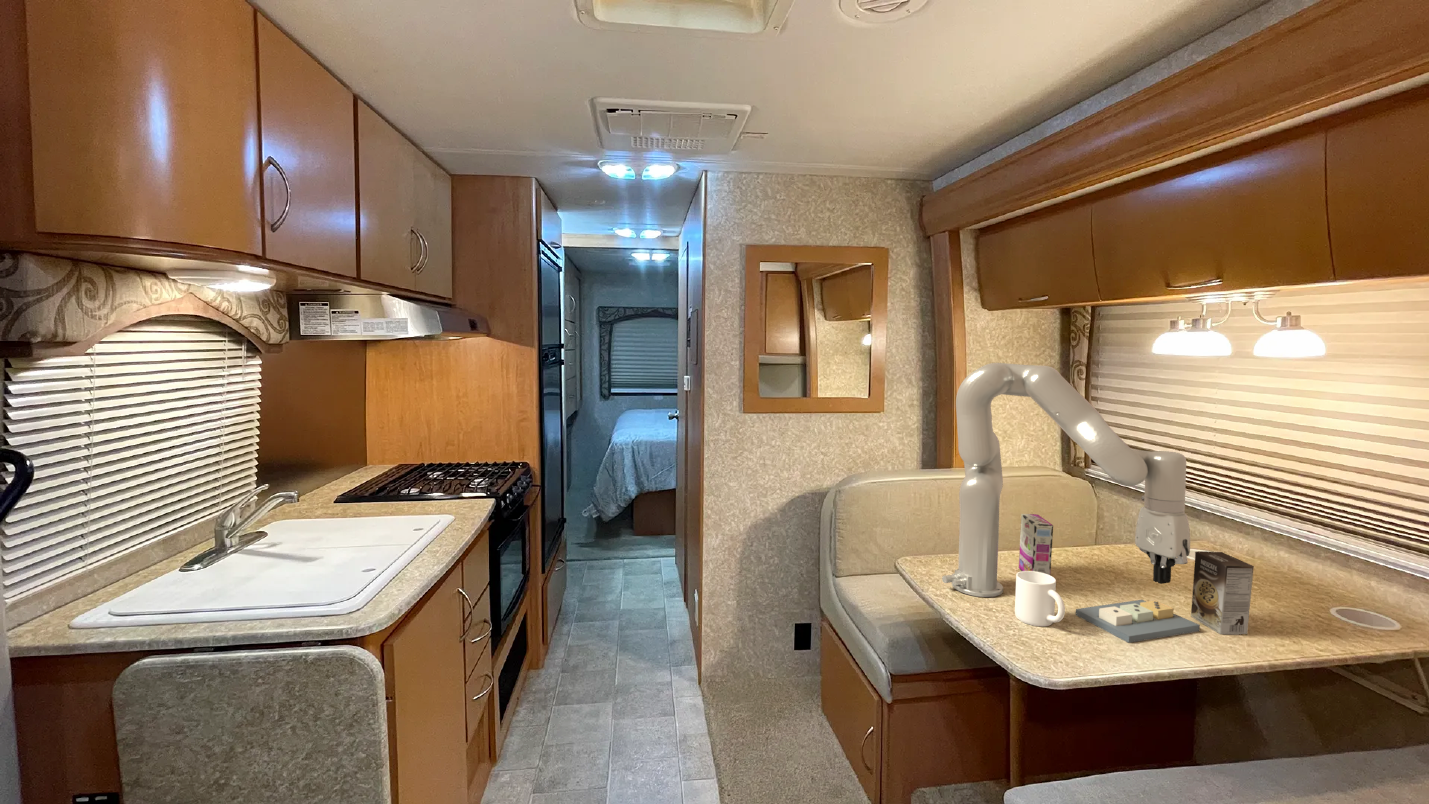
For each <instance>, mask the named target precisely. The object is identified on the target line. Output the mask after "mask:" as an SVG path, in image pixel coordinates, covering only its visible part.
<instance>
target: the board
mask: <svg viewBox="0 0 1429 804" xmlns="http://www.w3.org/2000/svg"><path fill="white" fill-rule="evenodd" d="M1141 602H1147V601H1146V600H1143V599H1137V600H1131V601H1122V602H1116V603H1109V604H1102V605H1096V606H1087V607H1081V608H1075V616H1076V617H1079V618H1081V620H1085V621H1086V622H1088V623H1091V624H1092V625H1094V626H1096V627H1098V628H1100V629H1101V630H1104V631H1105V632H1107V633H1108V634H1111V635H1113V636H1115V637H1116V638H1119V639H1121V640H1122V641H1124V642H1126V643H1129V644H1130V643H1137V642H1141V641H1142V642H1143V641H1149V640H1153V639H1160V638H1167V637H1172V636H1177V635H1180V636H1181V635H1184V634H1192V633H1197V632H1198V633H1199V632H1200V628H1201V627H1200V626H1201V624H1198V623H1197V622H1194V621H1191V620H1190V619H1187V618H1185V617H1183V616H1180V615H1178V614H1177V613H1174V612H1173V618H1166V619H1160V620H1158V619H1155V618H1153V621H1147V622H1140V623H1136V622H1134V621H1132V624H1127V625H1121V626H1115V625H1113V624H1111V623H1109V622H1107V621H1105V620H1103V619H1101V618H1099V609H1100V608H1107V607H1114V606H1115V607H1117V608H1120V605H1127V604H1134V603H1136V604H1138V605H1140V603H1141Z"/></svg>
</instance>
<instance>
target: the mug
mask: <svg viewBox="0 0 1429 804" xmlns="http://www.w3.org/2000/svg"><path fill="white" fill-rule="evenodd" d="M1015 577H1016V578H1015V599H1014V600H1015V601H1014V615H1015V617H1016V618H1017V619H1018V620H1019V621H1020V622H1022V623H1024V624H1026V625H1029V626H1033V627H1048V626H1051V625H1053V623H1059V622H1061V621H1062V620H1063V619H1064V617H1065V614H1066V613H1065V612H1066V607H1065V602H1064V600H1063V598H1062V596H1061V595H1060V594H1059V593H1058V592H1057V591H1056V586H1057V579H1056V578H1055V577H1054V576H1052V575H1051V574H1050V575H1048V574H1045V573H1041V572H1036V571H1021V570H1020V571H1018V572H1016V574H1015ZM1056 604H1057V613H1056V612H1055V610H1056V609H1055V608H1056ZM1055 613H1056V615H1055Z"/></svg>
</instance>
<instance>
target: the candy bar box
mask: <svg viewBox="0 0 1429 804" xmlns="http://www.w3.org/2000/svg"><path fill="white" fill-rule="evenodd" d="M1020 516H1021V518H1020V532H1019V533H1020V538H1019V539H1020V541H1019V553H1018V554H1019V555H1018V556H1019V557H1018V569H1019V570H1020V572H1021V571H1036V572H1041V573H1045V574H1048V575H1050V576H1051V573H1052V572H1051V570H1052V569H1051V568H1052V555H1053V554H1052V553H1053V552H1052V551H1053V538H1054V537H1053V535H1054V525H1053V524H1052V523H1051V522H1049V521H1048V520H1046V519H1045V518H1044V517H1042V516H1041V515H1039V514H1033V513H1021V514H1020Z"/></svg>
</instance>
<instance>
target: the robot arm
mask: <svg viewBox="0 0 1429 804" xmlns="http://www.w3.org/2000/svg"><path fill="white" fill-rule="evenodd" d="M1001 395H1003V396H1005V395H1006V396H1015V397H1028V398H1031V399H1032V400H1033V402H1035V403H1036V404H1037V405H1038V407H1040V409H1042V410H1043V411H1044V412H1045V413H1046V414H1047V415H1048V416H1049V417H1050V418H1051V419H1052V420H1053V421H1054V422H1055V423H1056V424H1057V425H1058V426H1059V427H1060V428H1061V429H1062V430H1063V432H1065V434H1066V435H1067V436H1068V437H1069V438H1070V439H1071V440H1072V441H1073V442H1074V443H1076V445H1077V446H1079V447H1080V449H1082V451H1083V452H1085V453H1086V454H1087V455H1088V457H1089V458H1090V459H1091V460H1092V461H1093V462H1094V463H1095V464H1096V465H1097V466H1098V467H1099V468H1100V469H1101V470H1102V471H1103V472H1104V473H1105V474H1106V475H1107V476H1108V477H1109V478H1110V479H1111V480H1113V482H1115V483H1117V484H1119V485H1121V486H1125V487H1134V486H1135V487H1136V486H1138V485H1140V484H1141V483H1143V482H1144V494H1143V495H1141V497H1140V499H1141V501H1143V502H1144V504H1143V506H1141V507H1140V509H1139V512H1138V515H1137V517H1138V518H1137V520H1136V525H1135V526H1136V527H1135V538H1134V541H1135V546H1136V547H1137V548H1139V551H1140V552H1141V553H1144V554H1145V555H1147V556H1148V559H1150V563H1151V564H1152V565H1153V570H1152V574H1153V575H1152V577H1153V579H1152V580H1153V582H1155V583H1158V584H1160V585H1162V584H1169V583H1171V579H1172V568H1174V567H1175V566H1176V565H1186V564H1188V563H1189V561H1188V556H1190V552H1191V532H1190V523H1189V519H1188V514H1187V513H1185V509H1186V485H1187V483H1186V482H1187V481H1186V479H1187V459H1186V456H1185V455H1183V453H1180V452H1176V451H1169V450H1156V451H1155V450H1154V451H1148V450H1143V449H1142V450H1141V449H1136V448H1135V449H1134V448H1131V447H1130V446H1129V445H1128V444H1127V443H1126V442H1125V440H1122V438H1121V437H1120V436H1119V435H1118V434H1117V433H1116V432H1115V431H1114V430H1113V429H1112V428H1111V426H1109V424H1108V423H1107V422H1106V420H1105V419H1104V418H1103V416H1102V414H1101V413H1100V412H1099V411H1098V410H1097V409H1096V408H1095V407H1094V406H1093V405H1092V404H1091V403H1090V402H1089V401H1088V400H1087V399H1086V398H1085V397H1084V396H1083V395H1081V393H1080V392H1078V391H1077V389H1075V387H1073V385H1071V384H1070V383H1069V381H1067V380H1066V379H1065V377H1064V376H1062V375H1061V373H1060V372H1059V371H1058V370H1057V369H1056V368H1054V367H1052V366H1049V365H1034V364H1033V365H1032V364H1018V363H1005V362H991V363H987V364H985V365H982V366H980V367H979V368H977V369H975V370H974V371H972V372H971V373H970V374H969V375H966V377H965V378H964V379H963V381H962V382H961V384H960V385H959V387H958V389H957V392H956V397H955V398H956V399H955V410H956V412H955V413H956V427H957V428H956V430H957V442H958V443H957V444H958V447H957V448H958V455H959V456H960V458H961V460H962V461H963V466H964V467H963V468H964V474H965V475H964V478H963V479H962V480H961V483H960V486H959V493H958V496H959V538H958V542H959V543H958V568H956V569H954V573H952V574H951V575H950V574H947V575H945V574H944V575H942V577H941V581H942V582H943V583H944V584H949V583H951V585H952V587H953V588H954V589H955V590H957V591H958V592H960V593H963V594H966V595H969V596H973V597H980V598H992V597H998V596H1000V595H1002V594H1003V592H1004V586H1003V585H1002V584H1001V583H1000V582H999V581H998V567H999V566H998V565H999V564H998V562H999V561H998V560H999V538H1000V537H999V534H1000V533H999V531H1000V528H999V527H1000V503H1001V501H1000V500H1001V494H1002V491H1003V486H1004V480H1003V479H1004V478H1003V467H1002V465H1003V464H1002V455H1001V445H1000V441H999V438H998V436H997V434H996V433H995V431H994V430H993V415H992V401H993V400H994V399H995V398H996V397H998V396H1001Z"/></svg>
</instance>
